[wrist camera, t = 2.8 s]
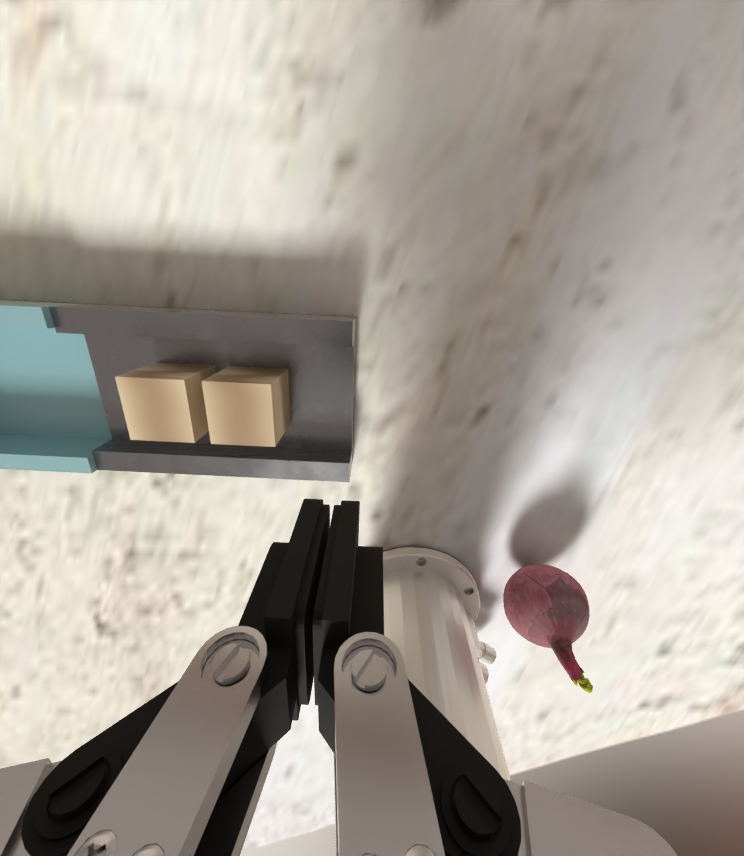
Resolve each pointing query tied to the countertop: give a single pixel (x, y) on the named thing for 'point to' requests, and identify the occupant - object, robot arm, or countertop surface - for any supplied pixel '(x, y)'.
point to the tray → (46, 393)
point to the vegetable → (549, 612)
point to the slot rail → (221, 346)
